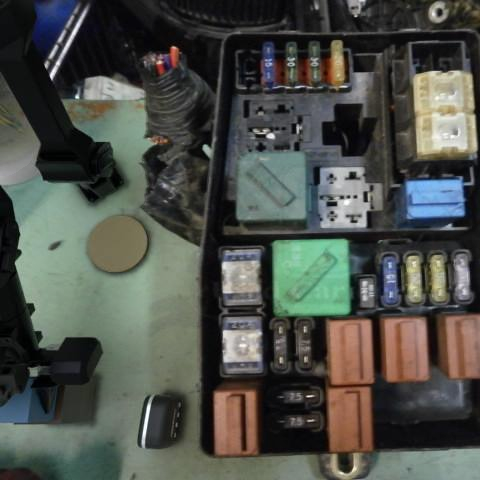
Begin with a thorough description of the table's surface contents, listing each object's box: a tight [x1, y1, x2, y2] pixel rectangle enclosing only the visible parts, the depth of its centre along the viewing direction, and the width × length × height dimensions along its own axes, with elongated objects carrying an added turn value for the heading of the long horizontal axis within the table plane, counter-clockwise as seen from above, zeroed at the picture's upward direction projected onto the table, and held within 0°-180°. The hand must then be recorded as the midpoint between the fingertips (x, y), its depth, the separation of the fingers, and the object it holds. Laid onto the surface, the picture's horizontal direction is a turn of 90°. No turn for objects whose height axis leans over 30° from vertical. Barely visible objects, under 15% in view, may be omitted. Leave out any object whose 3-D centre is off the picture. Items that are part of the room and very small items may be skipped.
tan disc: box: [86, 215, 149, 273], centre depth 87 cm, size 9×9×1 cm
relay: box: [0, 378, 58, 424], centre depth 67 cm, size 4×5×7 cm
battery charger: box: [136, 393, 184, 450], centre depth 75 cm, size 7×4×11 cm, turn 175°
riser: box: [12, 375, 97, 426], centre depth 75 cm, size 6×6×11 cm
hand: (31, 411), depth 68 cm, fingers closed on relay, 4 cm apart
